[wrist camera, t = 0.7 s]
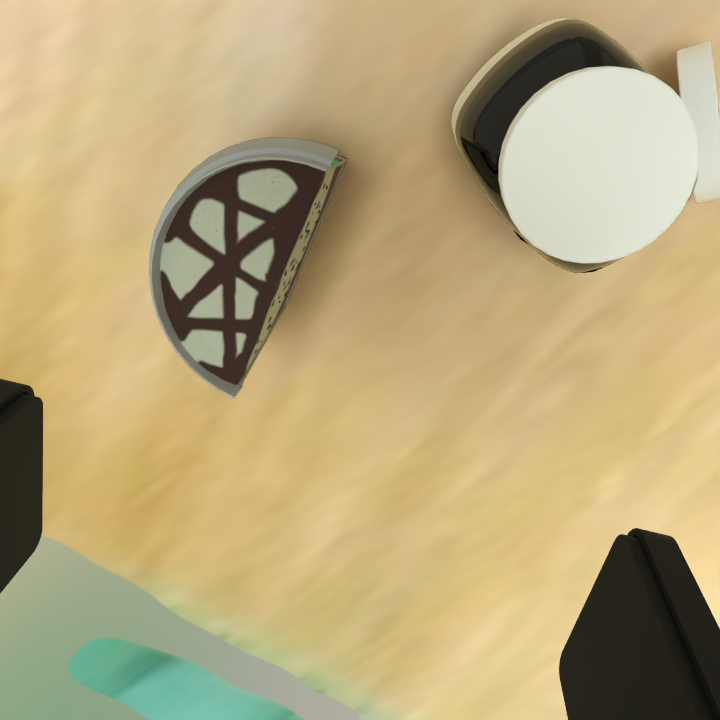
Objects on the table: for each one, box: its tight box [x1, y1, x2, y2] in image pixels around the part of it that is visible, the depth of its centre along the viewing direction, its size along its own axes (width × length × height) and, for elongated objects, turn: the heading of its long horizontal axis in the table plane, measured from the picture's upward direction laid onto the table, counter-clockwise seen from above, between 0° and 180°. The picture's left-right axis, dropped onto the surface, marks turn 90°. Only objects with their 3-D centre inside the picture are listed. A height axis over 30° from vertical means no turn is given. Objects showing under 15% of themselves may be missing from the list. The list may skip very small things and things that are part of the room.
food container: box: [149, 137, 347, 398], centre depth 33 cm, size 12×6×10 cm, turn 155°
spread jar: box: [451, 18, 720, 273], centre depth 29 cm, size 12×11×12 cm
